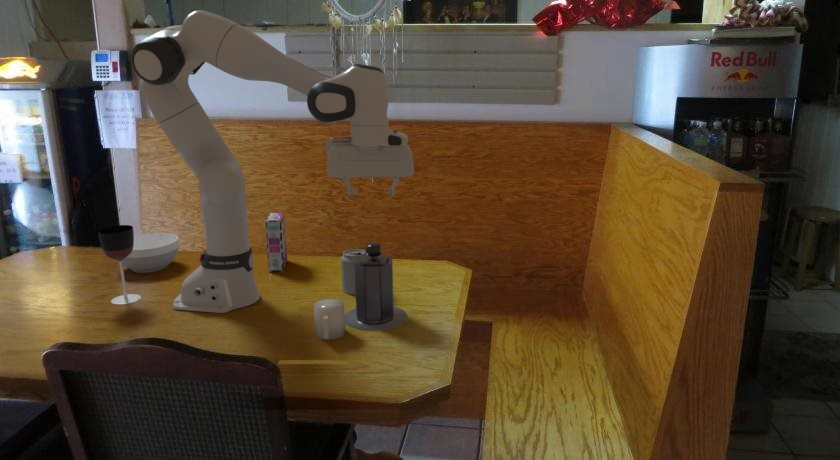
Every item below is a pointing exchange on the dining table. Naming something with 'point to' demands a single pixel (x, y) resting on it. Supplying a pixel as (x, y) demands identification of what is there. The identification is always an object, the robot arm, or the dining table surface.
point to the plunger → (373, 250)
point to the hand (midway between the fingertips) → (371, 195)
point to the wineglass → (119, 253)
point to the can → (349, 270)
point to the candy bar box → (276, 242)
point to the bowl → (152, 252)
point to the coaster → (352, 321)
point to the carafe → (374, 289)
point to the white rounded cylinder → (329, 319)
